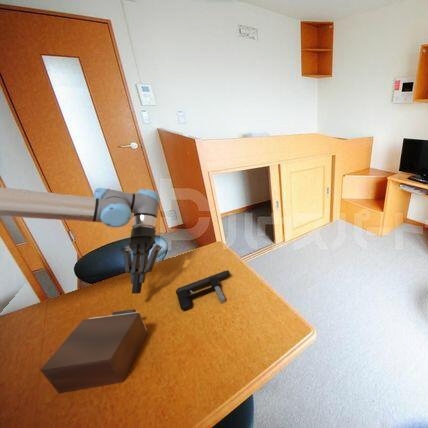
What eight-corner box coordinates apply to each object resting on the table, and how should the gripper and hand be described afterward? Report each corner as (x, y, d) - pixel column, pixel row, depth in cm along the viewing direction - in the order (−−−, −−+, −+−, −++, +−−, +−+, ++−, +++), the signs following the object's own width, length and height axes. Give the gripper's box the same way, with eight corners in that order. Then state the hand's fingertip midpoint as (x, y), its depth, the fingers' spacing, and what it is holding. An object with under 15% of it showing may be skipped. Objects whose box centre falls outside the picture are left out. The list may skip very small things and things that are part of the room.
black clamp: (240, 290, 91) (226, 266, 102) (182, 315, 80) (173, 286, 91) (241, 296, 92) (227, 272, 103) (184, 322, 81) (175, 292, 92)
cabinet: (95, 341, 73) (82, 319, 69) (148, 334, 76) (138, 312, 72) (58, 393, 60) (39, 369, 56) (123, 382, 63) (110, 358, 59)
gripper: (167, 230, 95) (161, 291, 88) (130, 232, 93) (122, 295, 85) (158, 224, 89) (151, 290, 81) (118, 227, 86) (107, 295, 79)
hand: (136, 293), depth 83 cm, fingers closed
